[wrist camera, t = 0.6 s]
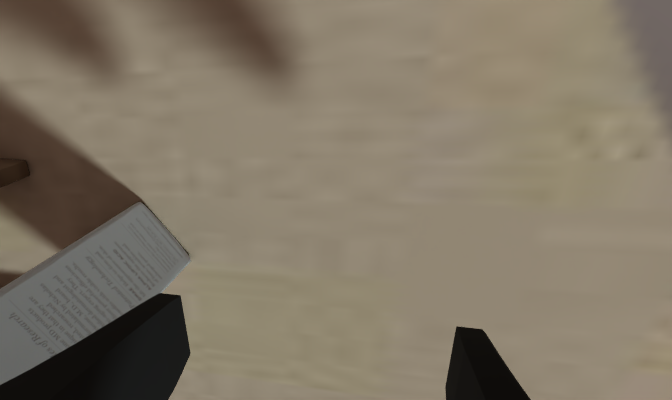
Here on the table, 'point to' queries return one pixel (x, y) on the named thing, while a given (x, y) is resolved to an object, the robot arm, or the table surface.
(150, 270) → the skincare box
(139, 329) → the robot arm
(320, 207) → the table surface
